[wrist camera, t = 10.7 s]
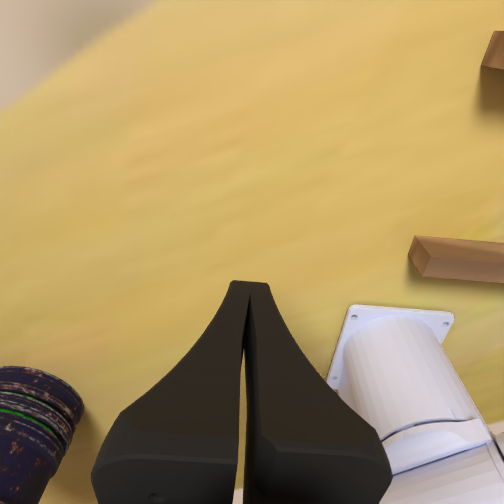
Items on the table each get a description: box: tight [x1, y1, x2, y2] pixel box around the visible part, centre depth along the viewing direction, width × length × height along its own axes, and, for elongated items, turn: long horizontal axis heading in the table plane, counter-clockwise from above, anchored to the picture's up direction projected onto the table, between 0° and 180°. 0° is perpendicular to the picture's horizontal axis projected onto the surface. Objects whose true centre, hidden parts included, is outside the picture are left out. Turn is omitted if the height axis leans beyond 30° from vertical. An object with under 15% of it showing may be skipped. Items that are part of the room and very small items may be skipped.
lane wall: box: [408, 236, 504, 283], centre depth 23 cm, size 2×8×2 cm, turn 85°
